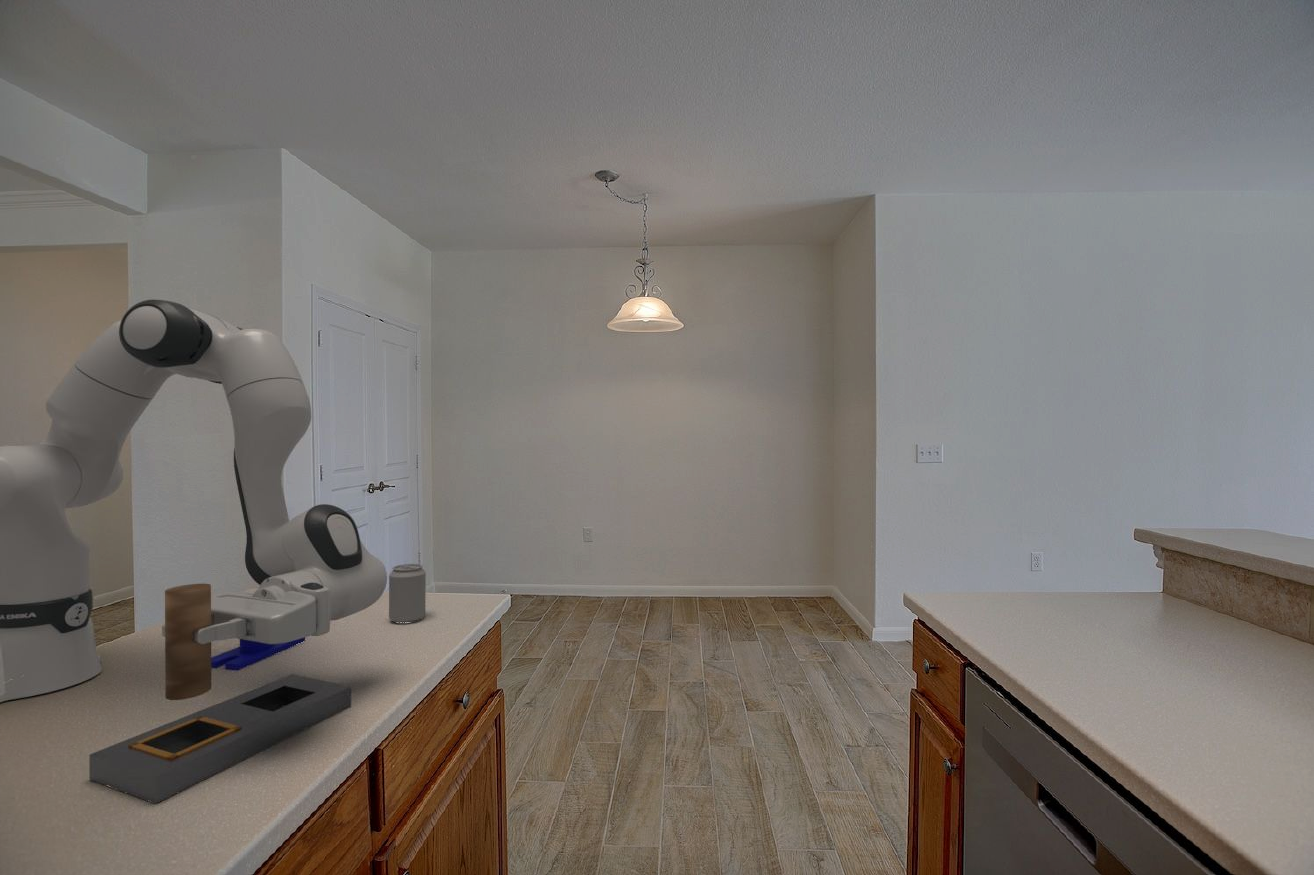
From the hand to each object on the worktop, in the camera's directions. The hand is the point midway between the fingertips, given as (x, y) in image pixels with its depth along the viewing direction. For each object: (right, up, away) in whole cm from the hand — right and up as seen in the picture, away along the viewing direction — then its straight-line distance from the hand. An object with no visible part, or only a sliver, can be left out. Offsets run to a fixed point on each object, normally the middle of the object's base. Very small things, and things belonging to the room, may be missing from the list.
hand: (180, 634), depth 73 cm
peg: (0, -7, +1) cm, 8 cm away
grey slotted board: (+2, -16, +6) cm, 17 cm away
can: (+3, -16, +58) cm, 61 cm away
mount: (-16, -16, +38) cm, 44 cm away
